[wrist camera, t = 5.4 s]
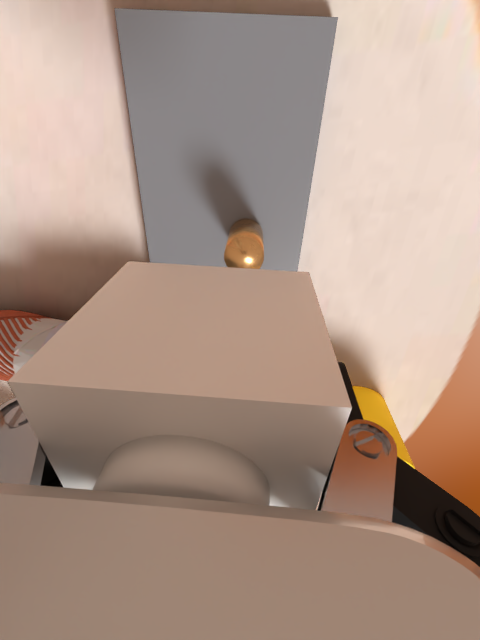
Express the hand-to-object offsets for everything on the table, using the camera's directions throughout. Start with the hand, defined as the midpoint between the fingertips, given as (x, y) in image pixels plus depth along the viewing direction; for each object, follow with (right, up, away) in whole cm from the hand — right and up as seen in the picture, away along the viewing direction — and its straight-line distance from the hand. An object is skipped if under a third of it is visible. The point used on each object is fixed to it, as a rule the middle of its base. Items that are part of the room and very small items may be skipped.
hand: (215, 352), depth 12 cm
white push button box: (0, 0, +1) cm, 1 cm away
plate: (0, +13, +14) cm, 19 cm away
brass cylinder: (+1, +9, +15) cm, 17 cm away
